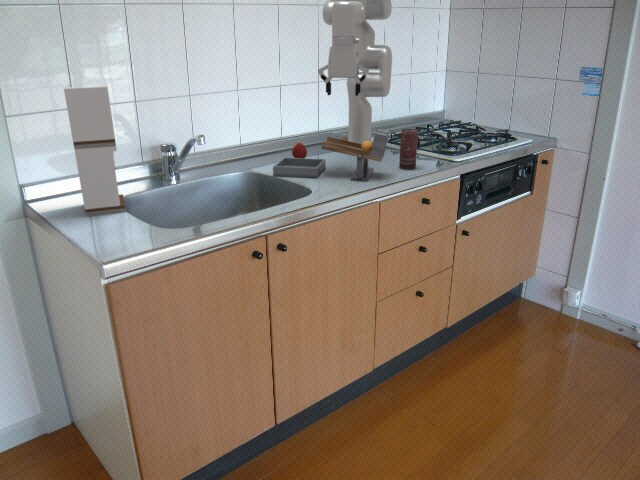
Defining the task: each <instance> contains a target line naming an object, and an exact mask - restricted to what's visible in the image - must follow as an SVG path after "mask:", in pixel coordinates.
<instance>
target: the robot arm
mask: <svg viewBox="0 0 640 480" xmlns="http://www.w3.org/2000/svg"><path fill="white" fill-rule="evenodd" d="M392 7H393V4H392V0H326V1H325V3H324V6H323V8H322V19H323V21H324V22H323V23H325V24H326V25H328V26H331V46H330V47H329V53H328V59H327V64H326V65H324V66H323V67H321V68H319V69H318V70H317V73H318V75H319V76H320V79H322V81H323V82H324V83H325V93H327V96H331V95H332V82H331V81H332V80H333V79H334V78H335V79H346V89H347V98H348V134H347V135H348V138H347V140H349V141H350V142H355V143H359V144H362V143H363V142H365V141H370V142H371V143H372V122H373V121H372V116H373V113H372V112H373V108H372V107H373V106H372V104H371V103H370V102H369V100H368V99H367V98H385V97H388V95H389V94H390V91H391V82H392V81H391V79H392V67H393V66H392V65H393V53H392V49H391V48H390V46H388V45H385V44H375V41H376V32H375V30H374V29H373V27H372V25H371V24H370V23H369V22H368V20H369V21H372V20H373V21H374V20H375V21H378V20H379V21H383V20H387V19H389V18H390V17H391V14H392V11H393V10H392V9H393V8H392ZM326 70H327V75H325V74H324V71H326ZM370 70H371V71H379V72H371V71H370ZM360 71H361V72H360Z"/></svg>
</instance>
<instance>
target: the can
mask: <svg viewBox="0 0 640 480" xmlns="http://www.w3.org/2000/svg"><path fill="white" fill-rule="evenodd" d="M399 140H400V144H399V162H398V163H399V165H398V166H399V168H400V169H401V170H409V171H410V170H415V169H416V167H417V154H418V152H417V151H418V141H419V131H418V130H417V129H414V128H405V129H401V132H400V139H399Z"/></svg>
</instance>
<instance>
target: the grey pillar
mask: <svg viewBox="0 0 640 480" xmlns="http://www.w3.org/2000/svg"><path fill="white" fill-rule="evenodd" d="M108 89H109V88H108V83H107V82H103V85H102V86H101V85H100V86H93V87H71V84H65V85H64V88H63V92H64V96H65V97H64V99H65V103H66V110H67V114H68V120H69V126H70V127H69V128H70V132H71V137H72V144H73V149H74V155H75V161H76V166H77V172H78V177H79V182H80V189H81V195H82V201H83V206H84V213H85V216H86V217H93V216H100V215H101V216H102V215H109V214H118V213H126V206H125V199H124V194H119V187H118V181H117V180H118V179H117V175H116V174H117V173H116V169H117V167H116V166H117V165H116V160H115V159H116V158H115V153H114V152H117V144H116V143H117V141H116V136H115V130H114V128H115V127H114V122H113V116H112V107H111V103H110V102H111V101H110V95H109V90H108Z"/></svg>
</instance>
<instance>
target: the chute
mask: <svg viewBox="0 0 640 480" xmlns="http://www.w3.org/2000/svg"><path fill="white" fill-rule="evenodd" d="M389 133H390V130H386V129H381V128H377V130H376V131H375V133H374V135H373V141H372V149H371V151H365V150H362V148H361V146H362V144H359V143H355V142H350V141H349V140H348V134H347V133H341V134H340V138H336V137H333V136H332V137H331V136H327V138H326V141H324V140H323V141H322V143H321V150H327V151H330V152H336V153H339V154H344V155H348V156H353V157H356V158H357V157H358V156H359V155H360V154H362V155H363V157H364V158H366V159H368V160H372V161H375V162H382V160H383V158H384V157H385V152H386V147H387V142H388V137H389Z"/></svg>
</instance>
